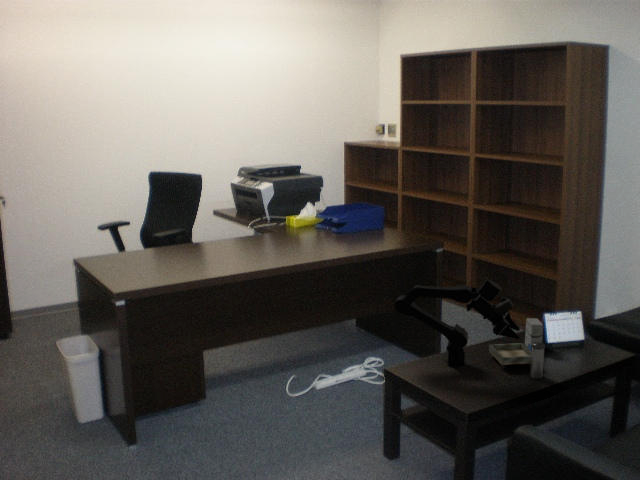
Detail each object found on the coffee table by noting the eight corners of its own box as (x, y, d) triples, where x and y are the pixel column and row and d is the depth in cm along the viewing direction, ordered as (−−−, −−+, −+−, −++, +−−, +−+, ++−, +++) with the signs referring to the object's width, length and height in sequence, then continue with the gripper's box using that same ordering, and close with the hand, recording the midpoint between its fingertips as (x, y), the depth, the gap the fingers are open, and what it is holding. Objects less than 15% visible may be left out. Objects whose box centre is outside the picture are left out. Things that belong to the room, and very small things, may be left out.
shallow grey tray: (501, 370, 256) (502, 357, 254) (488, 356, 269) (489, 344, 268) (535, 368, 257) (536, 356, 256) (521, 354, 271) (522, 343, 269)
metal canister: (532, 379, 247) (535, 346, 245) (527, 374, 252) (529, 342, 249) (544, 378, 248) (546, 346, 245) (539, 373, 252) (541, 341, 250)
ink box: (542, 351, 274) (543, 324, 271) (530, 351, 274) (531, 324, 272) (535, 343, 282) (537, 317, 280) (524, 343, 282) (525, 317, 280)
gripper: (497, 300, 243) (532, 326, 241) (499, 287, 260) (532, 311, 258) (478, 322, 247) (513, 348, 245) (482, 307, 264) (514, 331, 262)
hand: (519, 333), depth 252 cm, fingers open, 9 cm apart
